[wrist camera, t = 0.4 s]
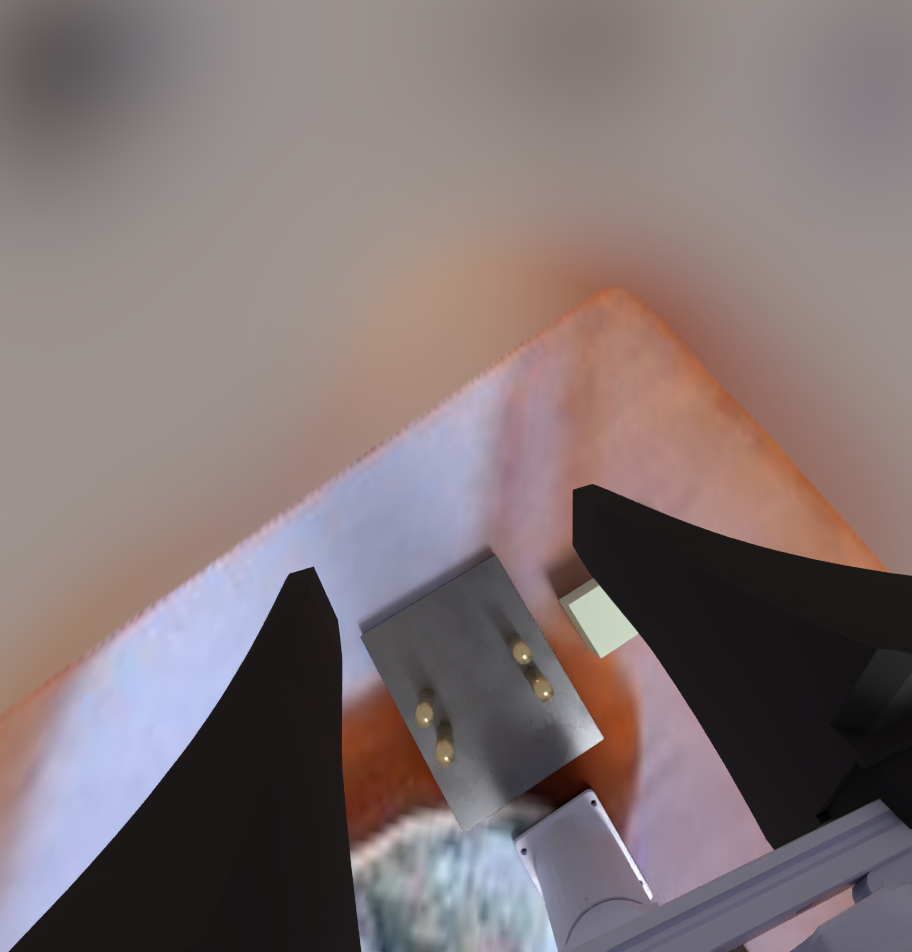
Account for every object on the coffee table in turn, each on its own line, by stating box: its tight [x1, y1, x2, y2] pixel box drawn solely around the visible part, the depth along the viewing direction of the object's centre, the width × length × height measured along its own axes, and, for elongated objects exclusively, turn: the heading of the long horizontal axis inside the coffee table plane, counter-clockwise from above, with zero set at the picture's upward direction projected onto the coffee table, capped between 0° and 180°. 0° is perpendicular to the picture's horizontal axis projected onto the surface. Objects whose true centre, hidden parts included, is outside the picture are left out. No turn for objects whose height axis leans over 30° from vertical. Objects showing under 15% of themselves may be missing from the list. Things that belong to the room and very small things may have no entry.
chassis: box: [360, 555, 604, 833], centre depth 34 cm, size 18×14×5 cm
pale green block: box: [559, 578, 639, 658], centre depth 37 cm, size 5×12×4 cm, turn 121°
